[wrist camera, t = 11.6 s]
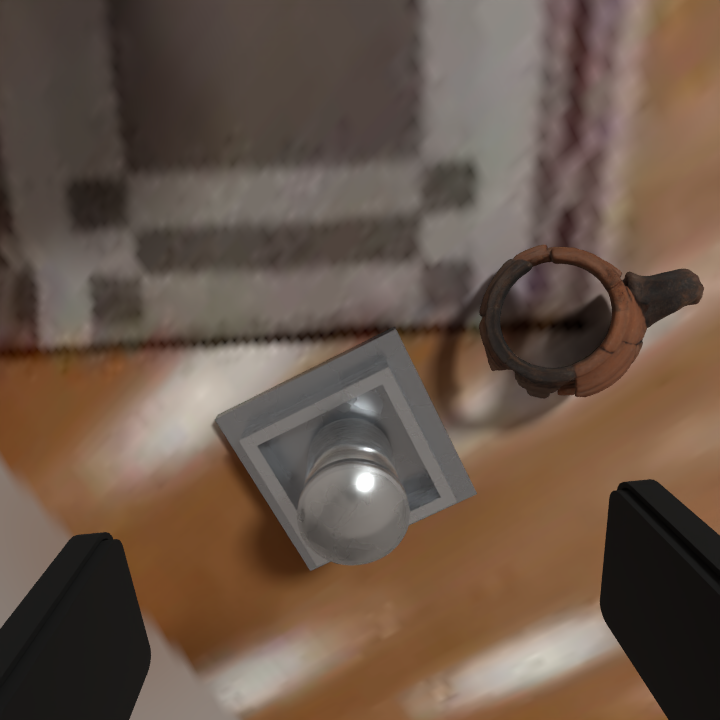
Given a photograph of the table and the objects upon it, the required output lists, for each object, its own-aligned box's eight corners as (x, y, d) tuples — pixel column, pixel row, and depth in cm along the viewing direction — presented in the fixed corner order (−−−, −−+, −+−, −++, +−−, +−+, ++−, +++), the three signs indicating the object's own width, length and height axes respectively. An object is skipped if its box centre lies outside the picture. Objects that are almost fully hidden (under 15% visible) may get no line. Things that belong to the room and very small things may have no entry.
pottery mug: (523, 418, 34) (510, 427, 27) (469, 297, 36) (443, 273, 28) (712, 347, 30) (761, 334, 23) (640, 215, 32) (663, 162, 24)
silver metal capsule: (320, 404, 32) (315, 452, 25) (407, 429, 33) (425, 482, 26) (294, 484, 33) (283, 550, 26) (378, 507, 34) (388, 576, 27)
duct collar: (217, 415, 33) (206, 431, 30) (394, 326, 32) (399, 335, 29) (311, 563, 36) (308, 590, 33) (473, 487, 35) (485, 509, 32)
